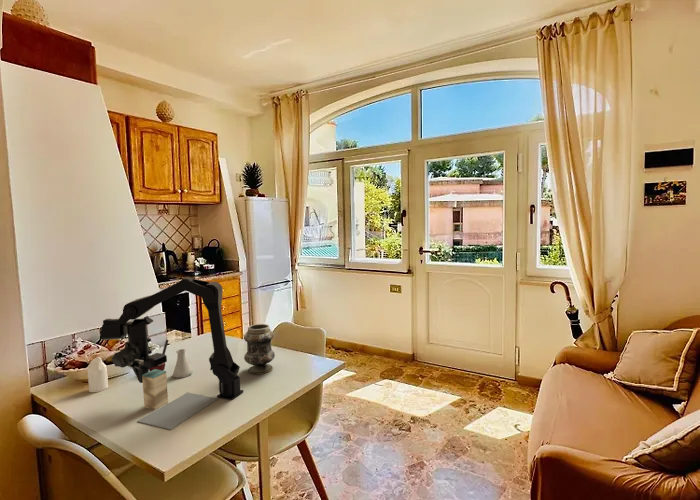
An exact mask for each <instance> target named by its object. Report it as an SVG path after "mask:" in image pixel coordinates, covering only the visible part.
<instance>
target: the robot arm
mask: <svg viewBox="0 0 700 500" xmlns="http://www.w3.org/2000/svg"><path fill="white" fill-rule="evenodd" d="M184 292H188V293H190V294H192V295H195V296H197V297H200V298H201V300H202V302H203V305H204V306H205V308H206V310H207V314H208V319H209V326H210V333H211V340H212V347H213V352H212V353H211V354H210V356H209V358H208V362H209V364H210V368H209V370H210V371H212V374H213V375H214V376H216V377H217V379H218V389H219V394H217V395H216V398H221V399H225V400H230V401H232V400H235V398H237V397H238V396H240V395H241V394H242V393H244V389H243V390H242V389H241V378H240V376H239V375H238V373H239V371H240V367H241V366H240V365H239V364H237V363H236V362H235V361H234V359H233V357H232V356H233V355H232V354H231V351H230V349H229V348H228V346H227V340H226V332H225V326H224V318H223V313H222V303H223V286H222V284H220V283H219V282H218V281H210V282H209V281H207V280H202V279H197V278H196V279H195V278H193V277H190V276H186V277H184V278H182V279H181V280H180V281H177V282H176V283H174V284H171V285H169V286H167V287H166V288H164V289H162V290H160V291H158V292H157V291H156V293H153V294H152V295H147V296H143V297H140V298H137V299H135V300H132V301H130V302H127V303H126V304H125V305H124V306H123V308H122V314H121V315H120V317H118V318H105V319H103V320H102V326H101V328H100V331H99V335H100V338H101V340H103V341H108V340H109V341H110V340H111V341H112V340H122V339H124V338H125V337H126V336H127V341H126V342H125V344H124V348H123V349H121V350H119V351H117V352H114V354H113V355H112V356H111V357H110V358H111V361H112V363H113V365H114V366H115V367H118V368H119V367H120V368H125V367H128V368H130V369H132V370H133V372H134V374H135V376H136V378H137V381H138V383H140V384H143V380H142V375H143V374H145V373H148V371H149V369H150V368H154V367H156V366H158V365H161V364H163V363H165V364H166V363H167V362H168V358H167V357H168V356H167V355H166V353H165V354H162V352H161V353H160V352H156V353H153V351H152V349H149V343H151V342H152V339H151V338H149V337H148V336H149V335H148V325H151V324H152V323H153V322H154V320H153V319H152V318H151V317H149V316H148V315H146V316H145V317H144V318H141V316H144V315H145V314H146V313H148V312H149V311H151V310H152V309H153V308H154V307H155V306H157V305H159V304H162V303H163V302H165V301H167V300H169V299H172V298H173V297H175V296H177V295H179V294H181V293H184ZM152 353H153V354H152ZM149 372H150V371H149Z"/></svg>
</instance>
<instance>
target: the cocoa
mask: <svg viewBox="0 0 700 500" xmlns="http://www.w3.org/2000/svg"><path fill="white" fill-rule="evenodd" d="M168 343H169V340H168V339H165V342H164V346H163V349H162V352H161V354H165V355H166V352H167V351H166V350H167V347H168ZM165 368H166V362H165V363H163V364H161V365H158V366H156V367H154V368H150V369H149V371H148V372H150V371H152V370H154V369H157V370H163V371H165V370H166V369H165Z"/></svg>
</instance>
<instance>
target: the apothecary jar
mask: <svg viewBox="0 0 700 500" xmlns="http://www.w3.org/2000/svg"><path fill="white" fill-rule="evenodd" d="M274 336H275V334H274V332H273V331H272V330H271V328H270V325H269V324H267V323H257V324H251V325H249V326H247V331H246V332H245V333H244V335H243V340H244V341H245V342H246V345H247V346H246V348H247V349H246V351H247V352H245V353H244V357H243V359H244V361H245V363H247V364H248V365H251V366H250V367H249V368H248V369H247V372H248V373H249V374H251V375H263V374H267V373H270V372H271V371H273V369H274V367H273V366H272V365H271V364H269V363H271V362H272V361H273V360H274V359H275V356H276V354H275V352H274V350H273V349H272V340H273V338H274Z"/></svg>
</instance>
